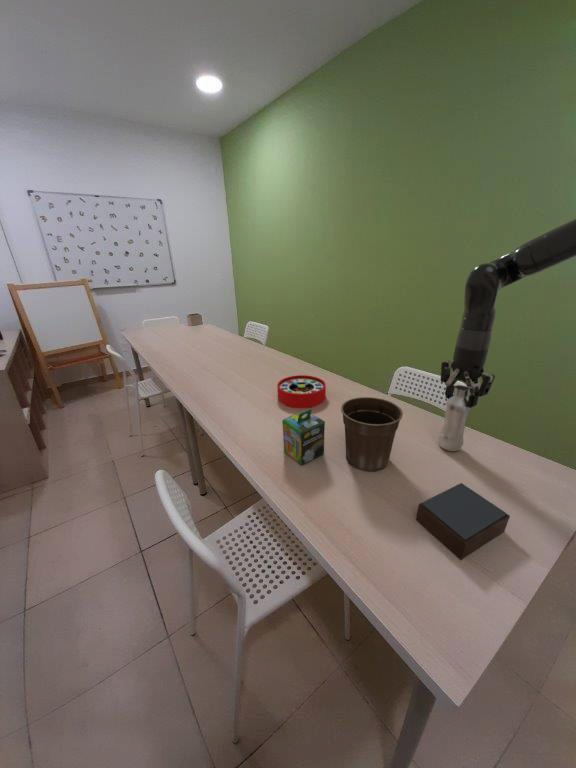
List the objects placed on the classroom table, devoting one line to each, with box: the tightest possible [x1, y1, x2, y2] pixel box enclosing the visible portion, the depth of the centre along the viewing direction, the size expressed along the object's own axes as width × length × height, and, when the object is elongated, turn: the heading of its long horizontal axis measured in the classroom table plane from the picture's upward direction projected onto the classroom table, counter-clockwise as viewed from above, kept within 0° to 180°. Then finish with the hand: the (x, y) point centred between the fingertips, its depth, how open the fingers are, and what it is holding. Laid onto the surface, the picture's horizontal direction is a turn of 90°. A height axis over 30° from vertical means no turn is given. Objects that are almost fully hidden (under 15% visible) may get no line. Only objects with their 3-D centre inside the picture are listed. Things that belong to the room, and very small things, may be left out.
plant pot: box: [340, 396, 404, 472], centre depth 85 cm, size 16×16×16 cm
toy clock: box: [277, 374, 327, 409], centre depth 125 cm, size 20×6×20 cm
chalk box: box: [281, 408, 326, 466], centre depth 88 cm, size 9×9×15 cm
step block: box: [415, 482, 511, 561], centre depth 64 cm, size 14×11×5 cm
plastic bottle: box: [437, 384, 473, 452], centre depth 87 cm, size 6×7×20 cm
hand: (459, 402), depth 85 cm, fingers closed on plastic bottle, 6 cm apart
